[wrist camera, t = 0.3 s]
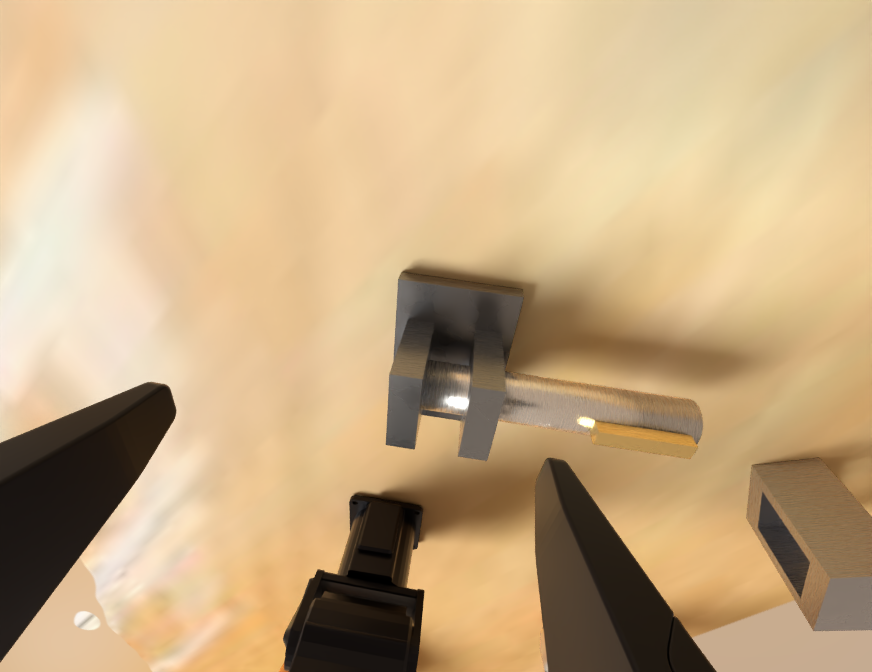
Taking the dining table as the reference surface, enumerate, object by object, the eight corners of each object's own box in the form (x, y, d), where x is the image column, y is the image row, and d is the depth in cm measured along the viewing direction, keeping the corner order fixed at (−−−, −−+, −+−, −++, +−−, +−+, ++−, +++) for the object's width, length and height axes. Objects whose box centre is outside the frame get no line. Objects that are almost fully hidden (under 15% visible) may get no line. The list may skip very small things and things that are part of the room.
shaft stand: (632, 437, 28) (665, 518, 22) (393, 400, 28) (372, 471, 23) (699, 315, 22) (764, 386, 17) (401, 271, 23) (376, 328, 17)
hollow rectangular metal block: (806, 513, 30) (893, 629, 24) (746, 518, 31) (813, 630, 25) (819, 457, 27) (923, 574, 20) (751, 465, 28) (830, 578, 21)
